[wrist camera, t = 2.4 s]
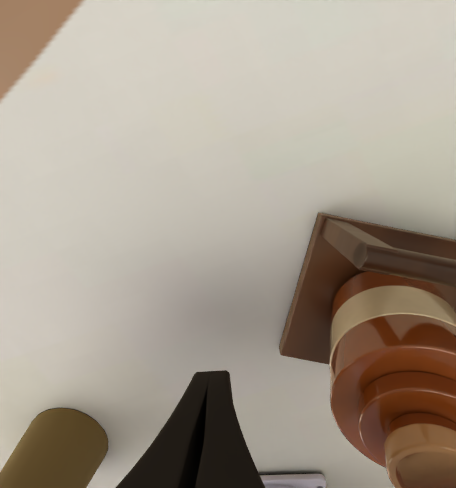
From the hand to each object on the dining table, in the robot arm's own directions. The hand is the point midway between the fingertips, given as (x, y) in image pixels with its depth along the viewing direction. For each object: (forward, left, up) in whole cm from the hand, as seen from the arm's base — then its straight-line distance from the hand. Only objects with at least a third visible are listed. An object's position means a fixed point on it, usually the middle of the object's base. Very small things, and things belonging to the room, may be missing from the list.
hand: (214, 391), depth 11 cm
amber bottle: (0, -9, -5) cm, 10 cm away
